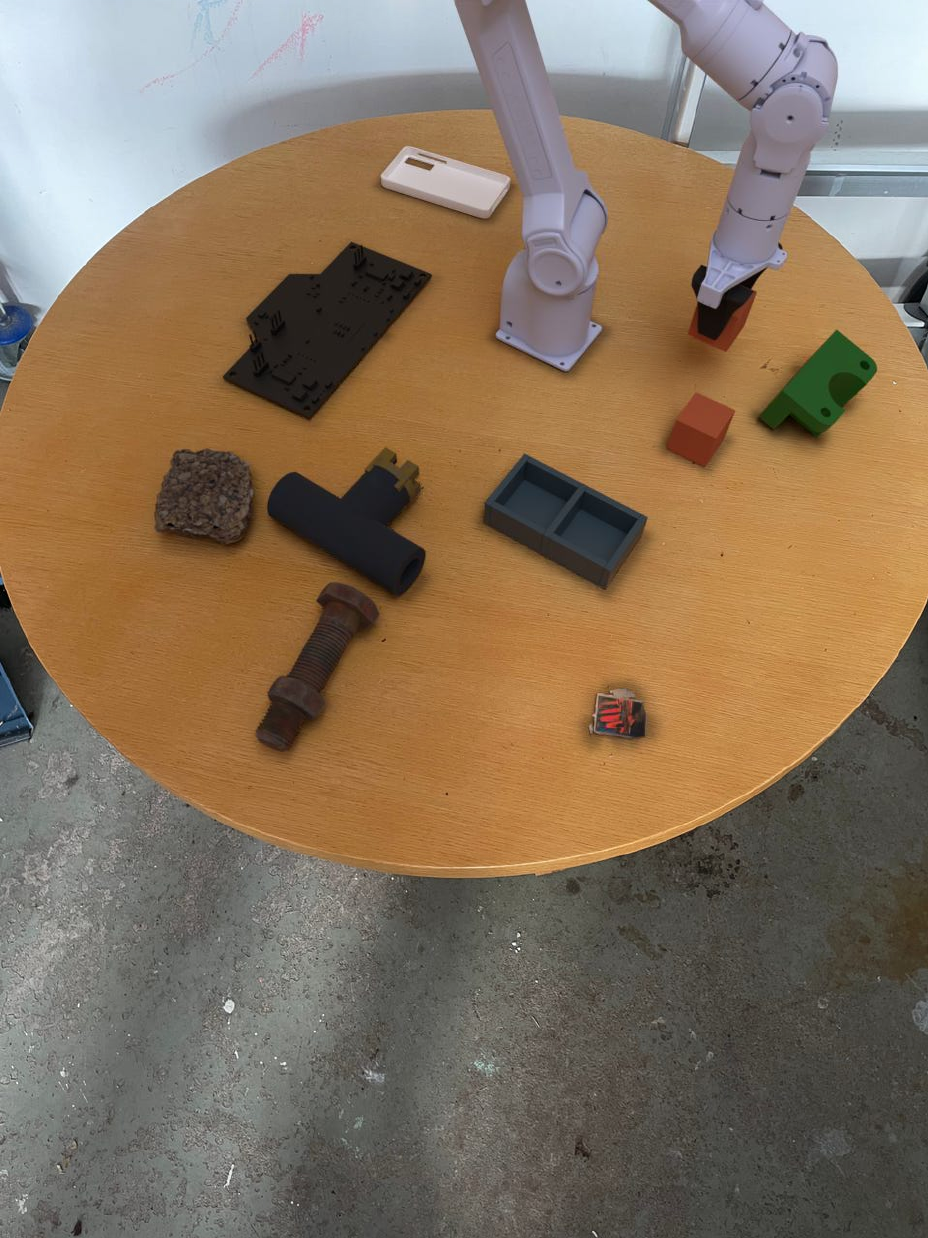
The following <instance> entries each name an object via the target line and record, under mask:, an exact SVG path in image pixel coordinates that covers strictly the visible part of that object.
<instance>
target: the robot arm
mask: <svg viewBox="0 0 928 1238" xmlns="http://www.w3.org/2000/svg"><path fill="white" fill-rule="evenodd" d="M453 2H454V6H455V8H456V11H457V13H458V17H459V19H460V22H461V26H462V28H463V31H464V34H465V37H466V39H467V43H468V45H469V48H470V51H471V54H472V57H473V60H474V62H475V65H476V68H477V71H478V73H479V76H480V79H481V82H482V85H483V87H484V90H485V93H486V96H487V99H488V102H489V104H490V107H491V110H492V113H493V116H494V119H495V121H496V125H497V127H498V130H499V133H500V135H501V139H502V142H503V144H504V148H505V150H506V154H507V155H508V157H509V161H510V164H511V166H512V170H513V173H514V176H515V179H516V181H517V184H518V187H519V190H520V193H521V195H522V199H523V203H522V218H521V219H522V221H521V239H522V241H523V244H524V248H523V249H521V250H519V251H518V252H517V253H516V255H515V256H514V257H513V258H512V260H511V262H510V264H509V265H508V267H507V269H506V272H505V274H504V278H503V280H502V281H503V282H502V286H501V297H500V313H499V314H500V316H499V329H498V330H497V331H496V333H495V338H496V339H497V340H499V341H500V342H503V343H505V344H507V345H510V346H511V347H513V348H515V349H517V350H519V351H521V352H523V353H525V354H528V355H529V356H532V357H534V358H536V359H538V360H540V361H542V362H544V363H546V364H549V365H550V366H553V367H554V368H557V369H559V370H561V371H563V372H569V371H571V369H572V368H573V367H574V366H575V364H576V363H577V362H578V360H580V358H581V357H582V356H583V354H584V353H586V351H587V350H588V348H589V347H590V346H591V345H592V343H594V341H595V340H596V339H597V338H598V337H599V335H601V333H602V330H603V327H602V325H601V324H598V323H596V322H594V321H592V320H591V318H592V311H593V306H594V300H595V295H596V289H597V283H598V276H599V270H600V269H599V264H598V259H597V257H596V252H597V249H598V246H599V243H600V241H601V238H602V236H603V235H604V233H605V232H606V229H607V228H608V224H609V211H608V207H607V205H606V203H605V202H604V200H603V198H602V197H601V196H600V195H599V194H598V193H597V192H596V190H595V189H594V187H593V186H592V184H591V182H590V178H589V175H588V172H587V171H584V170H582V169H579V168H577V167H576V166H575V163H574V160H573V157H572V154H571V149H570V146H569V143H568V139H567V136H566V133H565V130H564V126H563V123H562V122H563V121H562V119H561V115H560V112H559V109H558V105H557V102H556V99H555V95H554V92H553V89H552V85H551V81H550V78H549V75H548V72H547V69H546V65H545V62H544V58H543V55H542V51H541V48H540V44H539V42H538V39H537V35H536V31H535V28H534V24H533V22H532V21H533V20H532V17H531V14H530V10H529V8H528V4H527V1H526V0H453ZM647 2H649V3H650V4H651V5H652V6H654V7H655V8H657V9H658V10H659V12H661V13H663V14H664V15H665V16H666V17H668V18H669V19H670V20H671V21H673V22H674V23H676V24H677V25H678V28H679V33H680V48H681V53H682V54H683V55H684V56H685V57H687V58H688V60H690V61H691V63H693V64H694V65H695V66H696V67H698V68H699V69H700V70H701V71H702V72H703V73H704V74H705V75H706V76H708V78H710V79H711V80H712V81H713V82H714V83H716V84H717V86H719V87H720V88H721V89H722V90H723V91H724V92H726V94H728V95H729V97H731V98H732V100H734V101H736V102H737V103H738V104H739V105H740V106H741V107H743V108H744V109H746V110H748V111H749V112H750V114H749V115H750V116H749V124H750V132H749V134H748V136H747V137H746V138H745V140H744V141H743V143H742V145H741V148H740V152H739V155H738V158H737V161H736V165H735V168H734V171H733V175H732V178H731V182H730V184H729V188H728V190H727V193H726V198H725V201H724V203H723V207H722V210H721V214H720V216H719V220H718V223H717V227H716V230H714V232H713V233H712V236H711V239H710V243H709V247H708V248H709V249H708V254H707V255H708V256H707V262H706V265H704V264H700V266H698V268H697V269H696V270H695V272H694V274H693V275H692V277H691V285H690V286H691V288H692V290H693V292H694V296H695V299H696V302H697V303H696V305H697V304H698V333H699V334H701V335H704V336H706V337H708V338H710V339H713V340H716V339H717V338H718V337H719V336H720V334H721V333H722V332H723V330H724V329H725V327H726V325H727V323H728V322H729V320H730V318H731V316H732V315H733V313H734V312H735V311H736V310H737V309H739V308H740V307H742V306H743V305H744V304H745V303H746V302H747V300H748V299H749V298H750V296H751V295H752V293H753V292H754V291H755V290H754V289H753V287H754V286H755V284H756V282H757V281H758V279H759V278H760V277H761V275H762V274H764V272H765V271H766V270H767V269H771V270H774V271H777V270H778V271H779V270H780V269H781V268H782V267H783V265H784V264H785V262H786V260H787V258H788V253H787V252H786V251H785V250H783V245H782V243H781V242H780V240H781V237H782V234H783V232H784V229H785V227H786V224H787V222H788V220H789V216H790V214H791V211H792V209H793V207H794V204H795V202H796V199H797V197H798V196H797V195H798V193H799V191H800V188H801V186H802V182H803V180H804V179H805V178H804V177H805V175H806V173H807V170H808V167H809V165H810V162H811V157H812V154H811V153H812V151H813V150H814V148H815V146H816V144H817V143H818V142H819V141H820V140H822V138H823V137H824V135H825V134H826V132H827V131H828V129H829V127H830V123H829V119H830V118H831V117H830V116H831V112H832V111H831V110H832V107H833V102H834V97H835V92H836V87H837V84H838V78H839V64H838V59H837V56H836V55H835V52H834V51H833V50H832V48H831V47H830V46H829V43H828V40H827V39H825V38H823V37H821V36H818V35H812V34H805V33H804V32H803V31H799V32H798V33H797V34H796V32H795V31H793V30H792V29H791V28H790V26H788V25H787V24H786V23H785V22H784V21H783V20H782V19H781V18H780V17H779V16H778V15H777V14H776V13H775V12H774V11H772V10H771V9H770V7H769V6H767V5H766V4H765V3H764V0H647ZM738 284H740V285H738ZM741 285H742V286H741ZM743 286H744V287H743ZM745 287H747V288H745ZM748 288H749V289H748ZM750 289H752V290H750ZM753 290H754V291H753Z"/></svg>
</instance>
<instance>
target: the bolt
mask: <svg viewBox="0 0 928 1238" xmlns="http://www.w3.org/2000/svg"><path fill="white" fill-rule="evenodd" d="M315 601H316V602H317V603H318V604H319V605H320V606H321V607H322V609H323V611H322V612H321V614H320V616H319V620H318V622H317V623H316V625H315V627H314V629H313V631H312V632H311V634H310V635H309V638H308V639H307V642H305V644H304V645H303V648H302V649H301V651H300V653H299V654H298V657H297V658H296V660H295V662H294V664H293V665H292V667H291V668H290V671H289V672H288V674H287V675H280V676H278V677H277V678H276V679H275V680H274V681H273V683H272V684H271V685H270V687H269V689H268V691H267V698H268V699H269V701H270V702H271V705H269V708H268V709H267V711H266V712H265V715H264V716H263V718H262V719H261V722H259V725H258V726H257V729H255V734H254V735H255V738H257V740H258V742H259V743H261V744H262V745H263V746H267V747H269V748H271V749H274V750H276V751H278V752H286V751H289V750H290V748H289V747H292V744H294V741H295V737H297V734H299V731H300V730H302V729H301V727H303V723H305V721H308V722H309V721H310V722H311V721H314V720H315V719H316V718H317V717H318V716H319V715H320V714H321V712H322V710H323V708H324V707H325V705H326V702H325V699H324V697H323V696H322V694H320V693H322V690H323V689H324V687H325V686H326V683H327V682H328V680H329V679H330V676H331V675H332V674H331V673H333V671H334V669H335V667H336V666H337V664H338V663H339V662H338V661H339V660H340V659H341V658H340V657H342V655H343V653H344V651H345V650H346V648H347V646H348V644H349V642H350V641H351V639H352V638H353V637H354V635H356V633H357V631H358V630H360V631H364V630H366V629H367V628H369V627H372V626H374V625H375V623H376V621H377V619H378V618H379V616H380V611H379V609H378V606H377V604H376V603H375V602H374V600H373V599H372V598H370V597H369V596H368V595H367V594H365V593H364V592H362V591H361V590H359V589H357V588H356V587H354V586H352V585H350V584H347V583H342V582H335V581H331V582H329V583H327V584H326V585H325V587H324V588H323V589H322V590H321V591H320V593H319V595H318V597H317V598H316V600H315Z"/></svg>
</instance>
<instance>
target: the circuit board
mask: <svg viewBox="0 0 928 1238" xmlns="http://www.w3.org/2000/svg"><path fill="white" fill-rule="evenodd" d="M432 277H433V274H432V273H430V272H428V271H425V270H423V269H420V268H418V267H415V266H412V265H410V264H408V263H406V262H403V261H401V260H398V259H395V258H393V257H391V256H388V255H386V254H384V253H381V252H378V251H375V250H373V249H371V248H368V247H365V246H363V244H358V243H356V242H353V241H350V242H349V243H348V244H347V245H346V246H345V248H343V249H342V250H341V251H340V253H339V254H338V255H337V256H336V257H335V258H334V259H333V260H332V261H331V262H330V263H329V264H328V265H326V268H324V270H322V272H320V273H288V274H287V276H286V277H284V278H283V279H282V281H280V283H279V284H277V286H276V287H275V288H274V289H273V290H272V291H271V292H270V293H268V294H267V296H265V298H264V299H263V300H262V301H261V302H260V303H259V304H258V305H257V306H256V307H255V308H254V309H253V310H252V311H251V312H250V313H249V314H248V315H247V316H246V317H245V320H246V323H247V324H248V325H249V327H250V328H251V330H252V334H253V336H252V334H251V333H249V335H248V336H249V340H250V344H249V348H248V349H247V350H246V351H245V352H244V353H243V354H242V356H240V358H238V359H237V360H236V362H235V363H234V364H233V365H232V366H231V367H230V368H229V369H228V370H227V371H226V372H225V373H224V374H223V375H222V378H223V380H225V381H227V382H229V383H231V384H234V385H235V386H237V387H239V388H242V389H244V390H245V391H248V392H250V393H253V394H255V395H257V396H259V397H261V398H263V399H265V400H267V401H270V402H272V403H274V404H276V405H278V406H280V407H282V408H285V409H287V410H289V411H291V412H293V413H295V414H298V415H300V416H301V417H304V418H306V419H308V420H310V419H311V418H312V417H313V416H314V414H315V413H316V412H317V411H318V410H319V409H320V407H322V406H323V404H324V403H325V402H326V401H327V400H328V398H329V397H330V396H331V395H332V394H333V393H334V392H335V391H336V389H337V388H338V387H339V386H340V384H341V383H342V382H343V381H344V380H345V378H347V377H348V375H349V374H350V373H351V372H352V371H353V369H354V368H356V365H358V364H359V362H360V361H361V360H362V359H363V358H364V357H365V355H367V353H368V352H369V351H370V350H371V348H372V347H373V346H374V345H375V344H376V343H377V342H378V340H379V339H380V338H381V337H382V336H383V334H384V333H385V332H386V331H387V330H388V329H389V327H390V326H391V325H392V324H393V323H394V322H395V320H396V319H397V318H398V317H399V316H400V315H401V313H402V312H403V311H404V310H405V309H406V308H407V307H408V306H409V305H410V303H412V301H413V300H414V298H415V297H416V296H417V295H418V294H419V293H420V291H422V289H423V288H424V287H425V286H426V285H427V284H428V283H429V281H430V280H431V279H432ZM253 337H254V339H253ZM233 375H235V376H233ZM306 409H309V410H307V411H306Z"/></svg>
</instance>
